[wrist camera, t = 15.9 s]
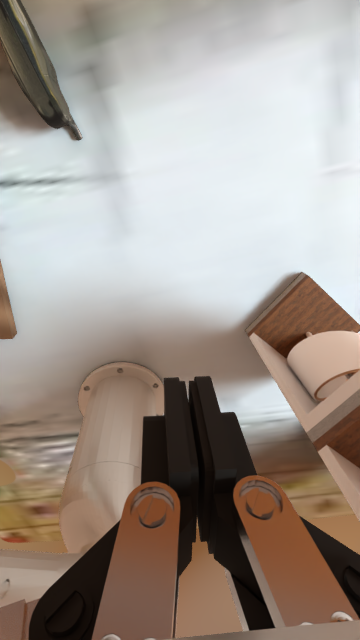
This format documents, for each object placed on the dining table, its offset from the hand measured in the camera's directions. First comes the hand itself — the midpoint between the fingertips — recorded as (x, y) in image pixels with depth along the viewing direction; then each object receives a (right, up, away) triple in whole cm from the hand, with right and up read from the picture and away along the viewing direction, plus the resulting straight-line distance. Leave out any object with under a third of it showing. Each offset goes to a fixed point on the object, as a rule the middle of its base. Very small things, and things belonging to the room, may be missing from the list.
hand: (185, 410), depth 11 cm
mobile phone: (-14, +28, +19) cm, 36 cm away
